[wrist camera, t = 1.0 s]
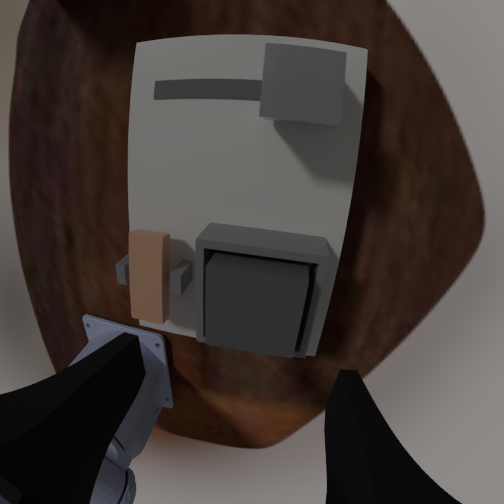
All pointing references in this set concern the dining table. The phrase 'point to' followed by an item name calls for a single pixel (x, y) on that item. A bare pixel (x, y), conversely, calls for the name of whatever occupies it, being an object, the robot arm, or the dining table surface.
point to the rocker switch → (149, 275)
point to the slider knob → (303, 85)
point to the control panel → (236, 170)
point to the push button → (254, 302)
